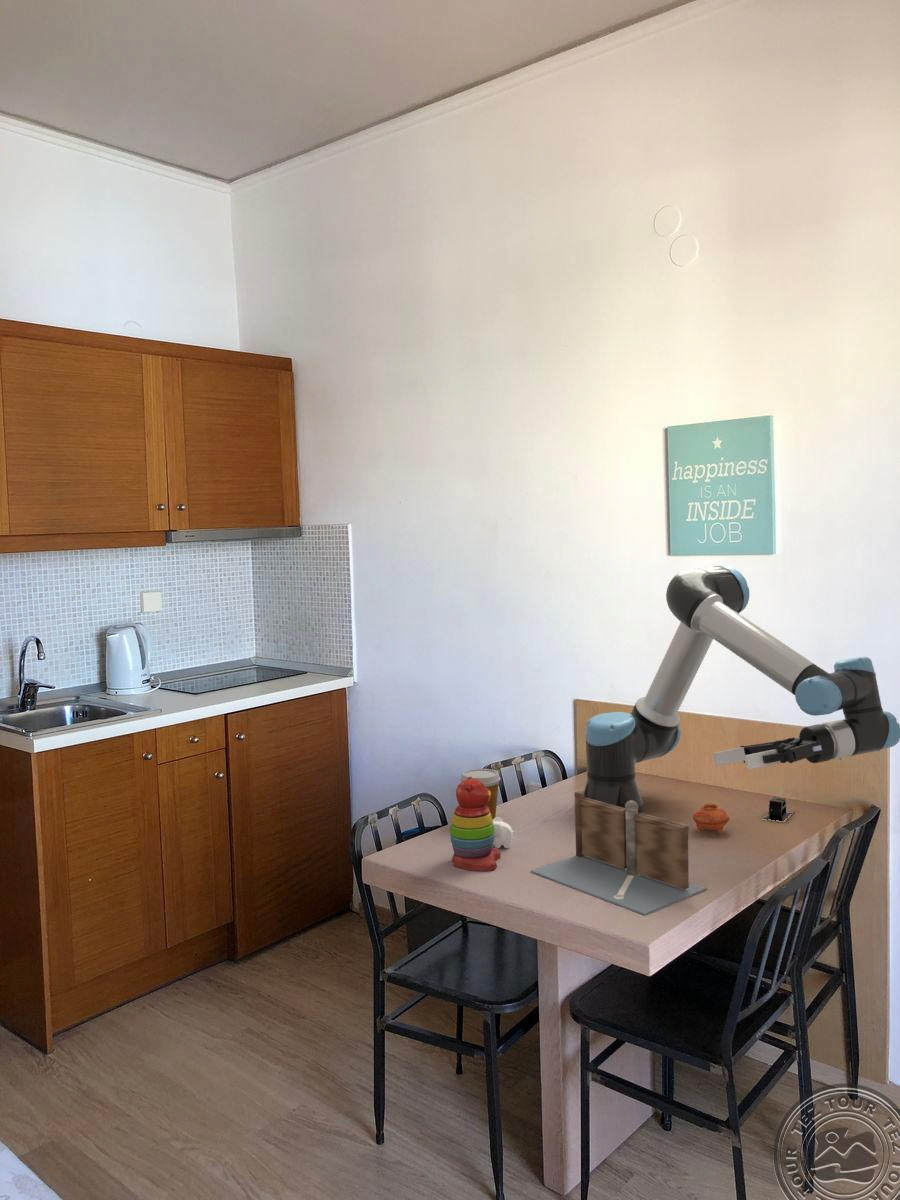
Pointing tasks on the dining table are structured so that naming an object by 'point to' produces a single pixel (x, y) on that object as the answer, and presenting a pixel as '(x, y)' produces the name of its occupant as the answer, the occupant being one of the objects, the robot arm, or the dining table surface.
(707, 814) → the pot
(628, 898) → the card
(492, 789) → the disposable coffee cup
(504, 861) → the dining table surface
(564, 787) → the dining table surface
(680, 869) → the hinged fence panel
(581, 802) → the fixed fence
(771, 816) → the black box
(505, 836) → the elephant figurine
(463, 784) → the stacking bear
